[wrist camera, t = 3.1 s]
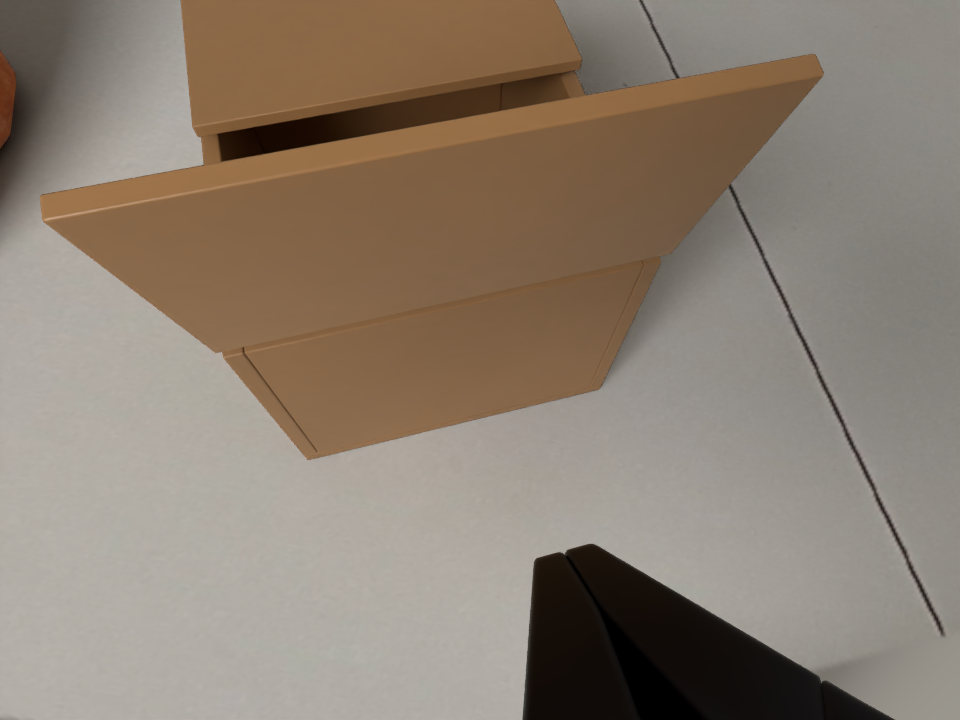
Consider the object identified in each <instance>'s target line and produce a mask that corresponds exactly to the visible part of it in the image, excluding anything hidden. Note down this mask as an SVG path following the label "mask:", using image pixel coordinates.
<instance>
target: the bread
mask: <svg viewBox="0 0 960 720" xmlns="http://www.w3.org/2000/svg"><path fill="white" fill-rule="evenodd" d="M15 90H16V74H15V72H14V70H13V69H12V67H11V66H10V64H9V63H8V61H7V60H6V58H5V57H4V55H3V54H2V52H1V51H0V149H1V147H2V146H3V144H4V143H5V141H6V140H7V138H8V137H9V135H10V132H11V124H12V115H13V107H14V98H15Z"/></svg>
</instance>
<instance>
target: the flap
mask: <svg viewBox="0 0 960 720" xmlns="http://www.w3.org/2000/svg"><path fill="white" fill-rule="evenodd" d="M823 75H824V72H823V70H822V68H821V65H820V63H819V61H818V59H817V56H816V55H815V54H809V55H804V56H798V57H793V58H787V59H782V60H776V61H771V62H765V63H760V64H754V65H749V66H744V67H738V68H733V69H727V70H722V71H716V72H711V73H705V74H700V75H694V76H689V77H683V78H678V79H672V80H667V81H661V82H656V83H650V84H645V85H639V86H634V87H629V88H623V89H618V90H612V91H607V92H601V93H596V94H590V95H585V96H579V97H574V98H568V99H563V100H557V101H552V102H546V103H541V104H535V105H530V106H524V107H519V108H514V109H508V110H503V111H497V112H492V113H486V114H481V115H475V116H470V117H464V118H459V119H453V120H448V121H442V122H437V123H431V124H426V125H420V126H415V127H409V128H404V129H398V130H393V131H388V132H382V133H377V134H371V135H366V136H360V137H355V138H349V139H344V140H338V141H333V142H327V143H322V144H316V145H311V146H305V147H300V148H294V149H289V150H283V151H278V152H273V153H267V154H262V155H256V156H251V157H245V158H240V159H234V160H229V161H223V162H218V163H212V164H207V165H201V166H196V167H190V168H185V169H179V170H174V171H168V172H163V173H158V174H152V175H147V176H141V177H136V178H130V179H125V180H119V181H114V182H108V183H103V184H97V185H92V186H86V187H81V188H75V189H70V190H64V191H59V192H53V193H48V194H43V195H41V196H40V201H41V211H42V220H43V221H44V223H46V224H47V225H48V226H50V227H51V228H52V229H53V230H55V231H56V232H57V233H59V234H60V235H61V236H63V237H64V238H65V239H67V240H68V241H69V242H71V243H72V244H73V245H74V246H76V247H77V248H78V249H80V250H81V251H82V252H84V253H85V254H86V255H88V256H89V257H90V258H92V259H93V260H94V261H95V262H97V263H98V264H99V265H101V266H102V267H103V268H105V269H106V270H107V271H109V272H110V273H111V274H113V275H114V276H115V277H116V278H118V279H119V280H120V281H122V282H123V283H124V284H126V285H127V286H128V287H130V288H131V289H132V290H134V291H135V292H136V293H137V294H139V295H140V296H141V297H143V298H144V299H145V300H147V301H148V302H149V303H151V304H152V305H153V306H155V307H156V308H157V309H158V310H160V311H161V312H162V313H164V314H165V315H166V316H168V317H169V318H170V319H172V320H173V321H174V322H175V323H177V324H178V325H179V326H181V327H182V328H183V329H185V330H186V331H187V332H189V333H190V334H191V335H193V336H194V337H195V338H196V339H198V340H199V341H200V342H202V343H203V344H204V345H206V346H207V347H208V348H210V349H211V350H212V351H214V352H215V353H218V352H223V351H228V350H232V349H237V348H241V347H246V346H251V345H255V344H260V343H264V342H269V341H273V340H278V339H283V338H287V337H292V336H296V335H301V334H305V333H310V332H315V331H319V330H324V329H328V328H333V327H338V326H342V325H347V324H351V323H356V322H360V321H365V320H370V319H374V318H379V317H383V316H388V315H392V314H397V313H402V312H406V311H411V310H415V309H420V308H424V307H429V306H434V305H438V304H443V303H447V302H452V301H457V300H461V299H466V298H470V297H475V296H479V295H484V294H489V293H493V292H498V291H502V290H507V289H511V288H516V287H521V286H525V285H530V284H534V283H539V282H543V281H548V280H553V279H557V278H562V277H566V276H571V275H576V274H580V273H585V272H589V271H594V270H598V269H603V268H608V267H612V266H617V265H621V264H626V263H630V262H635V261H640V260H644V259H649V258H653V257H658V256H662V255H667V254H671V253H672V252H673V250H674V249H675V248H676V247H677V246H678V245H679V243H680V242H681V241H682V240H683V239H684V238H685V236H686V235H687V234H688V233H689V232H690V231H691V229H692V228H693V227H694V226H695V225H696V224H697V222H698V221H699V220H700V219H701V218H702V217H703V215H704V214H705V213H706V212H707V211H708V210H709V208H710V207H711V206H712V205H713V204H714V203H715V201H716V200H717V199H718V198H719V197H720V196H721V194H722V193H723V192H724V191H725V190H726V189H727V187H728V186H729V185H730V184H731V183H732V182H733V181H734V179H735V178H736V177H737V176H738V175H739V174H740V172H741V171H742V170H743V169H744V168H745V167H746V165H747V164H748V163H749V162H750V161H751V160H752V158H753V157H754V156H755V155H756V154H757V153H758V151H759V150H760V149H761V148H762V147H763V146H764V144H765V143H766V142H767V141H768V140H769V139H770V137H771V136H772V135H773V134H774V133H775V132H776V130H777V129H778V128H779V127H780V126H781V125H782V123H783V122H784V121H785V120H786V119H787V118H788V116H789V115H790V114H791V113H792V112H793V111H794V109H795V108H796V107H797V106H798V105H799V104H800V102H801V101H802V100H803V99H804V98H805V97H806V95H807V94H808V93H809V92H810V91H811V90H812V88H813V87H814V86H815V85H816V84H817V83H818V81H819V80H820V79H821V78H822V77H823Z"/></svg>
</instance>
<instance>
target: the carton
mask: <svg viewBox="0 0 960 720" xmlns="http://www.w3.org/2000/svg"><path fill="white" fill-rule="evenodd" d="M181 9H182V20H183V31H184V42H185V52H186V63H187V74H188V85H189V95H190V106H191V117H192V127H193V129H194V131H195V133H196V135H197V136H198V137H201V142H202V152H203V162H204V165H207V164H212V163H218V162H223V161H229V160H234V159H240V158H245V157H251V156H256V155H262V154H267V153H273V152H278V151H283V150H289V149H294V148H300V147H305V146H311V145H316V144H322V143H327V142H333V141H338V140H344V139H349V138H355V137H360V136H366V135H371V134H377V133H382V132H388V131H393V130H398V129H404V128H409V127H415V126H420V125H426V124H431V123H437V122H442V121H448V120H453V119H459V118H464V117H470V116H475V115H481V114H486V113H492V112H497V111H503V110H508V109H514V108H519V107H524V106H530V105H535V104H541V103H546V102H552V101H557V100H563V99H568V98H574V97H579V96H585V93H584V91H583V88H582V86H581V84H580V82H579V80H578V77H577V75H576V73H575V70H579V69H580V68H581V62H582V57H581V55H580V53H579V51H578V49H577V46H576V44H575V42H574V40H573V38H572V36H571V34H570V31H569V29H568V27H567V25H566V23H565V21H564V19H563V17H562V14H561V12H560V10H559V8H558V6H557V4H556V2H555V0H181ZM660 264H661V259H660V257H659V256H658V257H653V258H649V259H644V260H640V261H635V262H630V263H626V264H621V265H617V266H612V267H608V268H603V269H598V270H594V271H589V272H585V273H580V274H576V275H571V276H566V277H562V278H557V279H553V280H548V281H543V282H539V283H534V284H530V285H525V286H521V287H516V288H511V289H507V290H502V291H498V292H493V293H489V294H484V295H479V296H475V297H470V298H466V299H461V300H457V301H452V302H447V303H443V304H438V305H434V306H429V307H424V308H420V309H415V310H411V311H406V312H402V313H397V314H392V315H388V316H383V317H379V318H374V319H370V320H365V321H360V322H356V323H351V324H347V325H342V326H338V327H333V328H328V329H324V330H319V331H315V332H310V333H305V334H301V335H296V336H292V337H287V338H283V339H278V340H273V341H269V342H264V343H260V344H255V345H251V346H246V347H241V348H237V349H232V350H228V351H223V358H224V359H225V361H226V362H227V363H228V364H229V365H230V367H231V368H232V369H233V370H234V371H235V373H236V374H237V375H238V376H239V378H240V379H241V380H242V381H243V382H244V384H245V385H246V386H247V387H248V388H249V390H250V391H251V392H252V393H253V394H254V396H255V397H256V398H257V399H258V400H259V402H260V403H261V404H262V405H263V407H264V408H265V409H266V410H267V411H268V413H269V414H270V415H271V416H272V417H273V419H274V420H275V421H276V422H277V423H278V425H279V426H280V427H281V428H282V430H283V431H284V432H285V433H286V434H287V436H288V437H289V438H290V439H291V440H292V442H293V443H294V444H295V445H296V446H297V448H298V449H299V450H300V451H301V453H302V454H303V455H304V456H305V457H306V459H307V460H311V459H315V458H319V457H323V456H327V455H331V454H335V453H339V452H344V451H348V450H352V449H356V448H360V447H364V446H368V445H372V444H376V443H381V442H385V441H389V440H393V439H397V438H401V437H405V436H409V435H414V434H418V433H422V432H426V431H430V430H434V429H438V428H442V427H446V426H451V425H455V424H459V423H463V422H467V421H471V420H475V419H479V418H484V417H488V416H492V415H496V414H500V413H504V412H508V411H512V410H516V409H521V408H525V407H529V406H533V405H537V404H541V403H545V402H549V401H553V400H558V399H562V398H566V397H570V396H574V395H578V394H582V393H586V392H591V391H595V390H599V389H600V387H601V385H602V383H603V381H604V379H605V377H606V375H607V373H608V371H609V369H610V367H611V365H612V363H613V361H614V359H615V356H616V354H617V352H618V350H619V348H620V346H621V344H622V342H623V340H624V338H625V336H626V334H627V332H628V330H629V328H630V326H631V324H632V322H633V319H634V317H635V315H636V313H637V311H638V309H639V307H640V305H641V303H642V301H643V299H644V297H645V295H646V293H647V291H648V289H649V287H650V285H651V282H652V280H653V278H654V276H655V274H656V272H657V270H658V268H659V266H660Z"/></svg>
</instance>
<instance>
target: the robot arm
mask: <svg viewBox="0 0 960 720" xmlns="http://www.w3.org/2000/svg"><path fill="white" fill-rule="evenodd" d="M523 720H894V719H893V718H891V717H889V716H887V715H885V714H884V713H882V712H880V711H878V710H877V709H875V708H873V707H871V706H869V705H868V704H866V703H864V702H862V701H861V700H859V699H857V698H855V697H853V696H851V695H850V694H848V693H847V692H845V691H843V690H842V689H840V688H838V687H837V686H835V685H833V684H832V683H830V682H828V681H823V682H822V683H821V681H820V678H819V676H817V675H816V674H814V673H812V672H811V671H809V670H807V669H806V668H804V667H802V666H801V665H799V664H797V663H795V662H794V661H792V660H790V659H789V658H787V657H785V656H784V655H782V654H780V653H779V652H777V651H775V650H773V649H772V648H770V647H768V646H767V645H765V644H763V643H762V642H760V641H758V640H756V639H755V638H753V637H751V636H750V635H748V634H746V633H745V632H743V631H741V630H740V629H738V628H736V627H734V626H733V625H731V624H729V623H728V622H726V621H724V620H723V619H721V618H719V617H717V616H716V615H714V614H712V613H711V612H709V611H707V610H706V609H704V608H702V607H701V606H699V605H697V604H695V603H694V602H692V601H690V600H689V599H687V598H685V597H684V596H682V595H680V594H678V593H677V592H675V591H673V590H672V589H670V588H668V587H667V586H665V585H663V584H662V583H660V582H658V581H656V580H655V579H653V578H651V577H650V576H648V575H646V574H645V573H643V572H641V571H639V570H638V569H636V568H634V567H633V566H631V565H629V564H628V563H626V562H624V561H623V560H621V559H619V558H617V557H616V556H614V555H612V554H611V553H609V552H607V551H606V550H604V549H602V548H600V547H599V546H597V545H595V544H587V545H583V546H579V547H576V548H572V549H569V550H567V551H566V553H565V555H564V554H563V553H560V552H558V553H554V554H550V555H547V556H543V557H539V558H537V559H536V560H535V561H534V568H533V582H532V596H531V610H530V624H529V637H528V651H527V665H526V679H525V693H524V707H523Z"/></svg>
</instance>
